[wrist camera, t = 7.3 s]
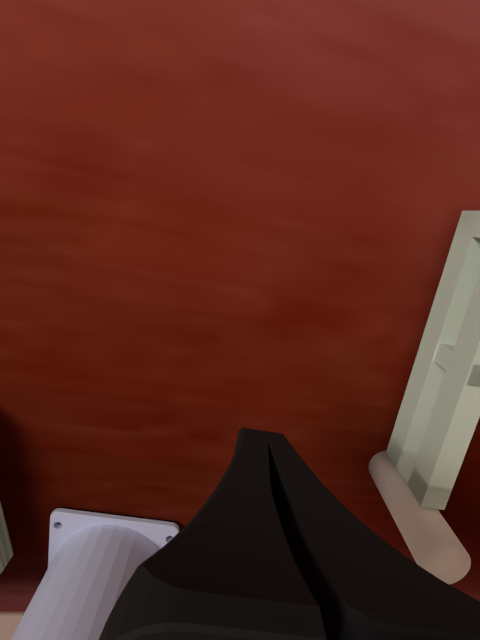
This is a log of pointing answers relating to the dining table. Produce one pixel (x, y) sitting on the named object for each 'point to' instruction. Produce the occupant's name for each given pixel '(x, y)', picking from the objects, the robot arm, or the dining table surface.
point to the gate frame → (420, 524)
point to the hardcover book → (4, 543)
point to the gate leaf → (443, 378)
